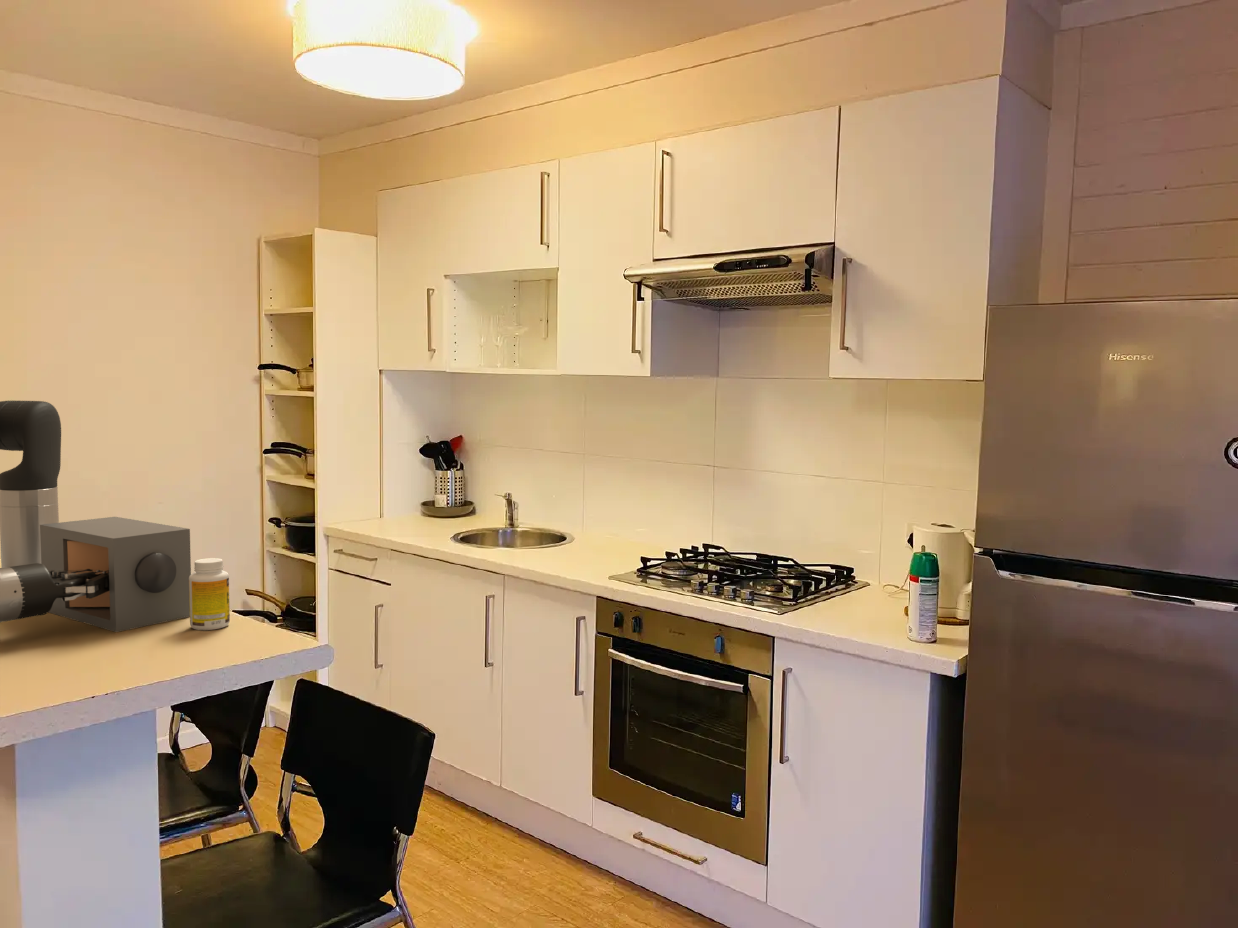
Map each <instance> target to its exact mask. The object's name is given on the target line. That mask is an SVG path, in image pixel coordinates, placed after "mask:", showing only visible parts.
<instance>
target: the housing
mask: <svg viewBox="0 0 1238 928" xmlns="http://www.w3.org/2000/svg"><path fill="white" fill-rule="evenodd" d="M69 540H73V541H78V542H83V543H88V544H93V545H98V546H103V547H108V558H109V590H110V607H70V605H69V600H67V601H62V598H56V600H55V601H54V603H53V606H52V608H51V610H50V611H49V612H48V613H50V614H54V615H56V616H59V617H64V618H67V619H69V620H70V619H71V620H73V621H77V622H81V623H83V624H87V625H90V626H95V627H97V628H101V629H103V630H108V631H111V632H115V633H119V632H122V631H127V630H133V629H138V628H141V627H147V626H151V625H157V624H161V623H165V622H170V621H175V620H180V619H186V618H190V605H189V576H190V575H191V574H192V569H191V568H192V565H191V564H192V562H191V559H192V558H191V557H192V556H191V528H187V527H181V526H175V525H170V524H169V525H168V524H162V523H157V522H149V521H146V520H145V521H144V520H139V519H134V518H133V519H131V518H126V517H120V516H109V517H108V516H107V517H99V518H90V519H82V520H81V519H80V520H72V521H71V520H70V521H61V522H59V523H51V524H42V525H40V541H41V564H43V565H44V566H45V567H46V568H47V569H48V570H49V571H51V570H55V571H58V570H68V548H67V541H69Z"/></svg>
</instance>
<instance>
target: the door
mask: <svg viewBox="0 0 1238 928" xmlns="http://www.w3.org/2000/svg"><path fill="white" fill-rule="evenodd" d="M67 548H68V570H79V569H83V570H86V569H92V570H93V571H96V570H103V571H107V570H109V558H108V547H103V546H98V545H93V544H88V543H83V542H78V541H73V540H69V541H67ZM69 605H70V607H110V591H108V592H105V593H103V594H101V595H99V596H96V597H94V598H91V599H89V598H86V596H80V597H77V598H76V599H73V600H69Z"/></svg>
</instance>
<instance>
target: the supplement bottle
mask: <svg viewBox="0 0 1238 928" xmlns="http://www.w3.org/2000/svg"><path fill="white" fill-rule="evenodd" d="M193 564H194V567H193V568H194V572H193V573H192V572H191V575H190V576H189V605H190V617H189V625H190V627H191V628H192V629H193V630H197V631H213V630H219V629H223V628H225V627H227V626H228V625H229V624H230V616H231V615H230V613H231V612H230V609H231V608H230V574H229V573H228V571H225V570H224V560H223V559H222V558H217V557H208V558H201V559H196V560H195V561H194V563H193Z"/></svg>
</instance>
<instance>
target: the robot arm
mask: <svg viewBox="0 0 1238 928" xmlns="http://www.w3.org/2000/svg"><path fill="white" fill-rule="evenodd" d="M61 445H62V423H61V417H60V414H59V412H58V410H57V409H56V407H55V406H54V404H52V403H50V402H48V401H44V400H1V401H0V450H1V451H9V452H10V451H12V452H14V451H15V452H18V451H19V452H22V458H21V462H20V463H19V464H18V465H16V466H15V467H13V468H11V469H7V470H5V471H3V472H0V564H1V565H0V566H1V567H0V623H4V622H9V621H15V620H16V621H17V620H21V619H26V618H27V619H28V618H33V617H38V616H43V615H46V614H48V613H49V611H50V610H51V608H52V606H53V603H54V601H55V600H56V598H62V601H67V600H73V599H76V598H77V597H80V596H86V598H89V599H91V598H94V597H96V596H99V595H101V594H103V593H105V592H108V591H110V590H109V570H107V571H103V570H96V571H93V570H92V569H86V570H83V569H79V570H58V571H55V570H51V571H49V570H48V569H47V568H46V567H45V566H44V565H43V564H41V541H40V525H42V524H51V523H60V520H59V519H60V518H59V497H58V495H59V494H58V493H59V491H58V478H59V474H60V472H61V460H62V459H61V457H62V456H61V455H62V454H61V453H62V446H61Z"/></svg>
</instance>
